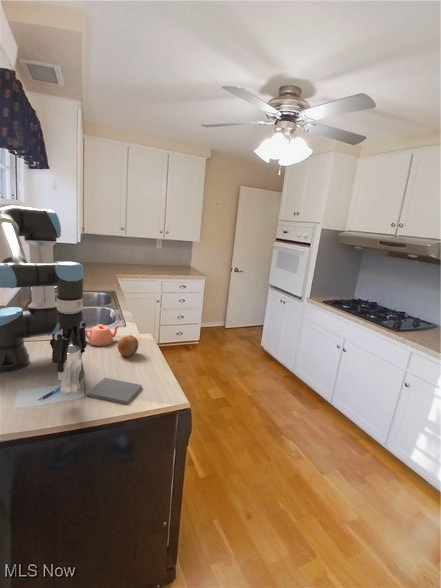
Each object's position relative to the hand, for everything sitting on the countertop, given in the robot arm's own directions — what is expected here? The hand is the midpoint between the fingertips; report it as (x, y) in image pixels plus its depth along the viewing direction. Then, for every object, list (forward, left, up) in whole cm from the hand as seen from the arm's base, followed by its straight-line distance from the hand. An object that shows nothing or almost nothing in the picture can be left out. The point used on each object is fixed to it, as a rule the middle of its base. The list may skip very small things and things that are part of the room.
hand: (70, 374), depth 104 cm
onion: (-1, +43, -11) cm, 44 cm away
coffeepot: (-13, +17, -11) cm, 24 cm away
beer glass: (0, 0, -6) cm, 6 cm away
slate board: (+10, +12, -11) cm, 19 cm away
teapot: (-20, +52, -11) cm, 56 cm away
